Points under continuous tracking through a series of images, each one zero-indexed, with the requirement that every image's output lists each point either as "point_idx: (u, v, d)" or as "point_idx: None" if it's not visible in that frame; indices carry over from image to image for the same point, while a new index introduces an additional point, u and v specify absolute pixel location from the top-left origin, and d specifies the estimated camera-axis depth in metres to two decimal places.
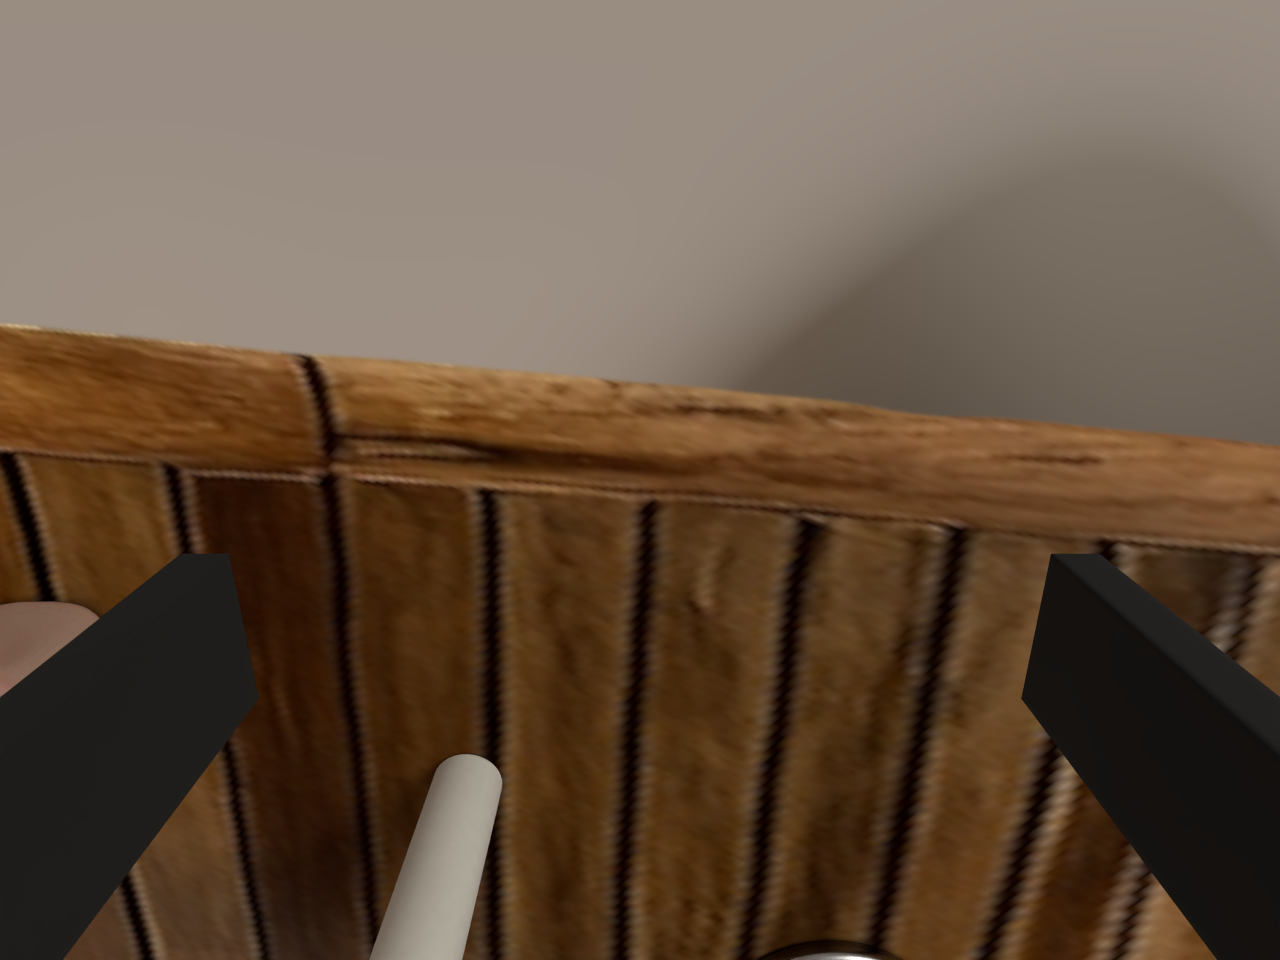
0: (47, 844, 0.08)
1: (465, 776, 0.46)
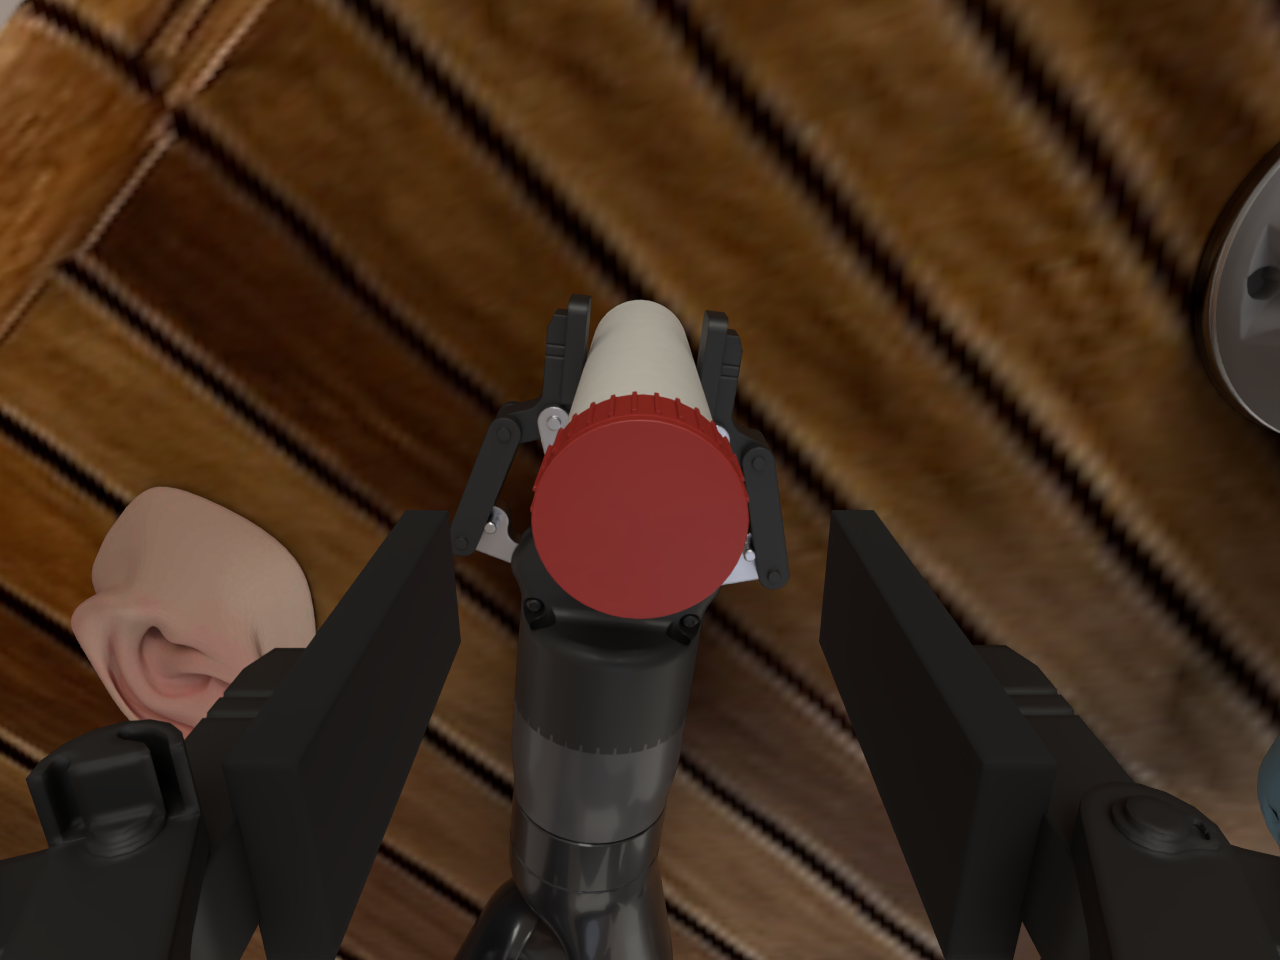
0: (377, 737, 0.10)
1: (609, 316, 0.33)
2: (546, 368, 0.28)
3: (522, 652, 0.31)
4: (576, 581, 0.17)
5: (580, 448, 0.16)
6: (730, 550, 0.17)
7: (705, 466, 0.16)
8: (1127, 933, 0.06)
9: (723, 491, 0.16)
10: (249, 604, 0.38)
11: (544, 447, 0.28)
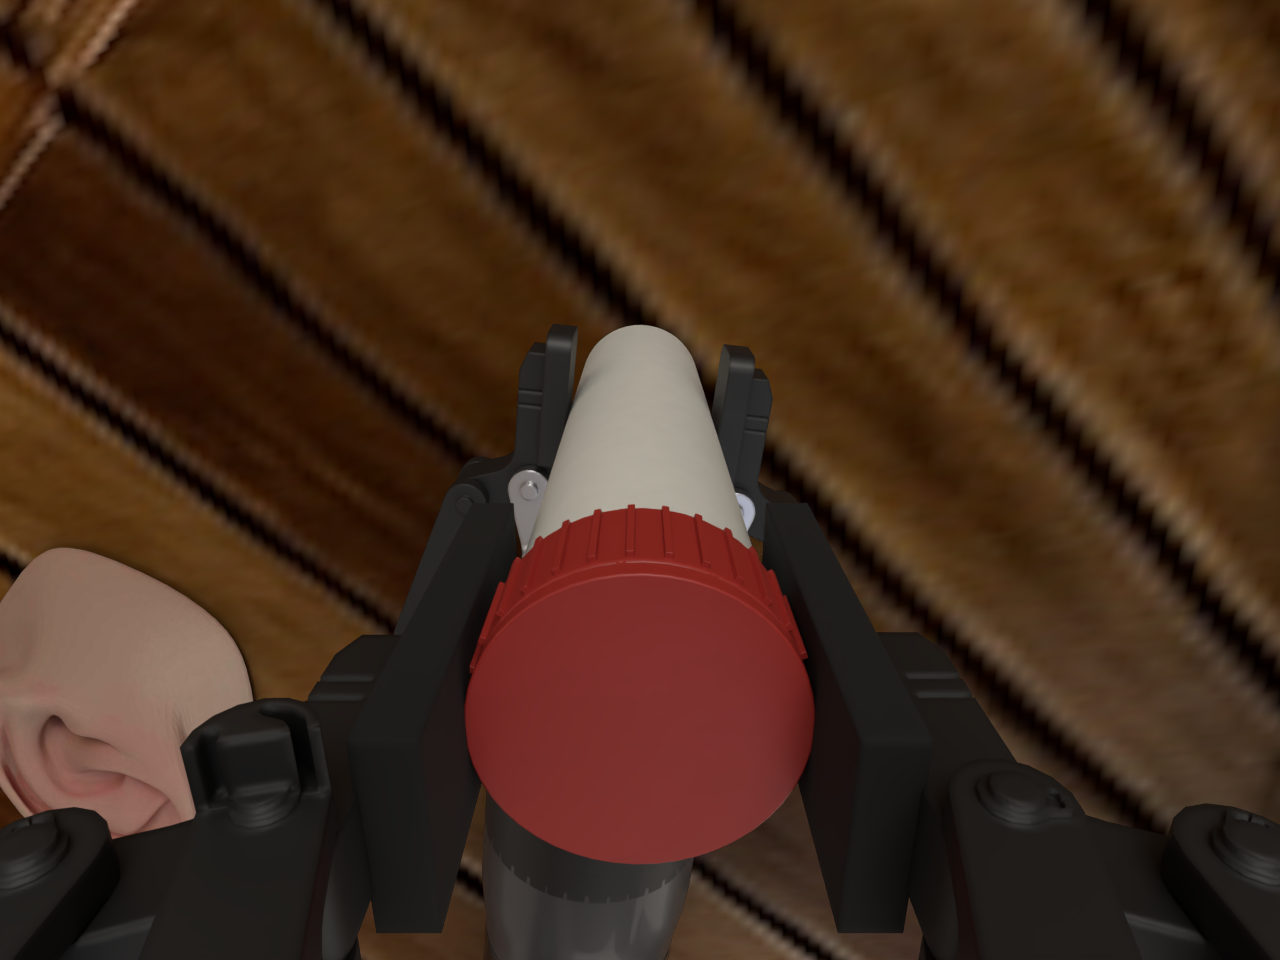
0: None
1: (601, 347, 0.26)
2: (519, 420, 0.22)
3: None
4: (538, 812, 0.11)
5: (541, 618, 0.10)
6: (784, 768, 0.10)
7: (747, 645, 0.10)
8: (989, 907, 0.06)
9: (775, 682, 0.10)
10: (171, 688, 0.31)
11: (517, 520, 0.22)
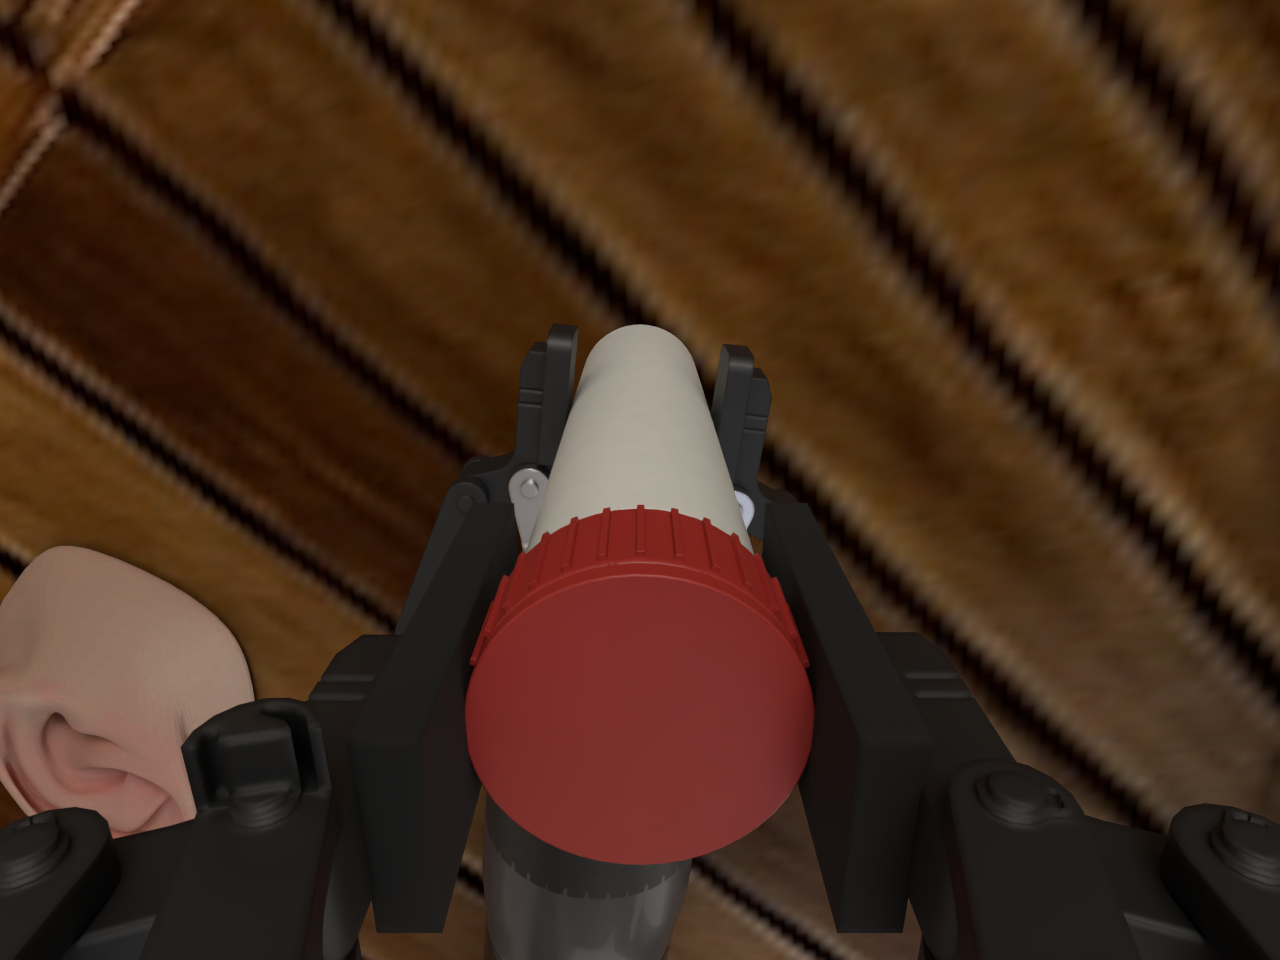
0: None
1: (601, 346, 0.26)
2: (519, 419, 0.22)
3: None
4: (742, 811, 0.11)
5: (520, 809, 0.11)
6: (681, 599, 0.10)
7: (530, 647, 0.10)
8: (988, 906, 0.06)
9: (572, 617, 0.10)
10: (172, 685, 0.32)
11: (517, 518, 0.22)
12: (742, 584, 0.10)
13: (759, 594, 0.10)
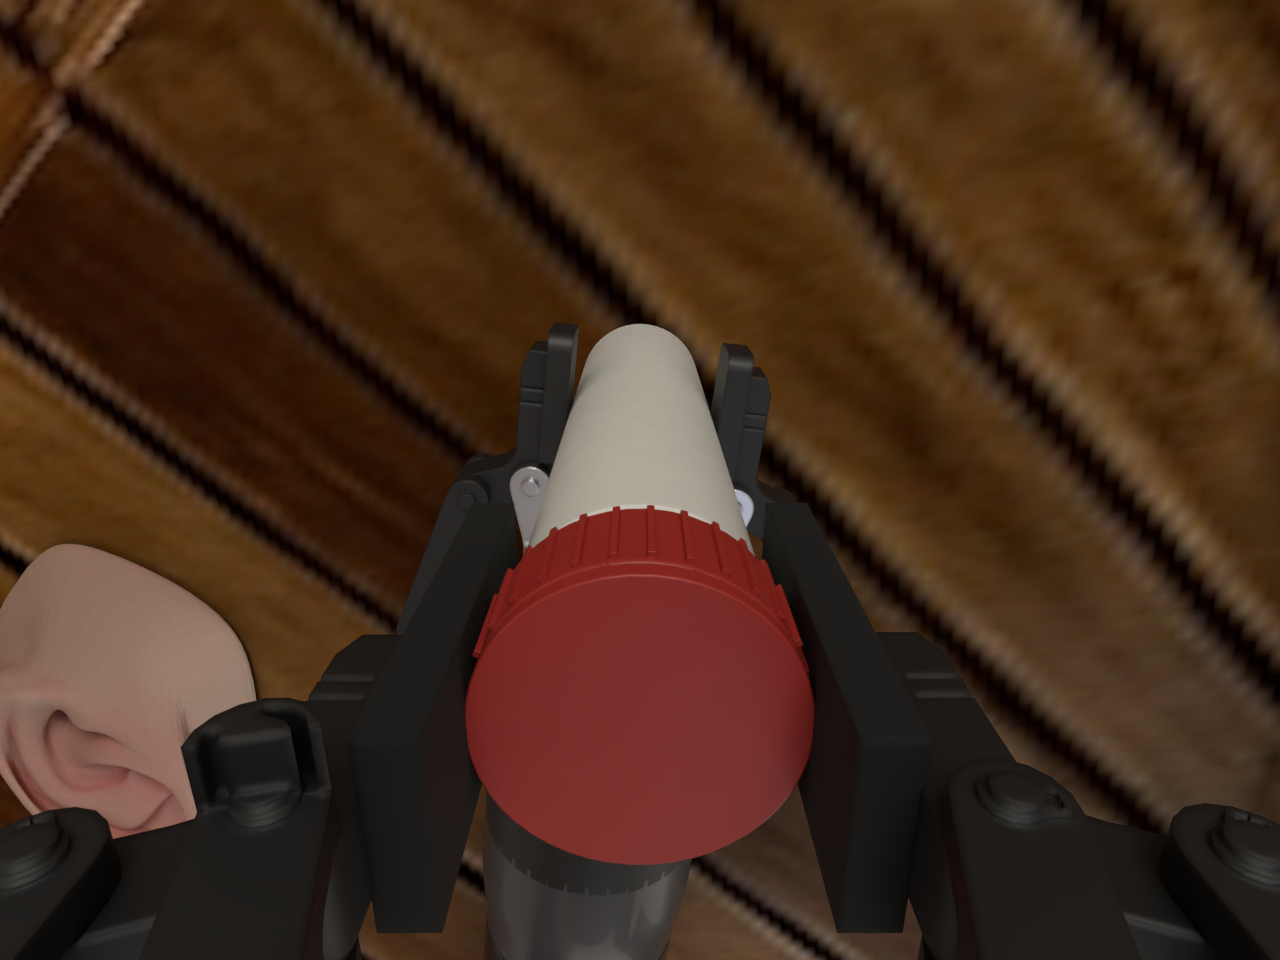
0: None
1: (602, 345, 0.27)
2: (520, 417, 0.22)
3: None
4: (740, 633, 0.10)
5: (738, 825, 0.11)
6: (485, 704, 0.10)
7: (550, 816, 0.11)
8: (988, 906, 0.06)
9: (516, 786, 0.11)
10: (174, 683, 0.32)
11: (518, 516, 0.22)
12: (490, 629, 0.10)
13: (506, 607, 0.10)
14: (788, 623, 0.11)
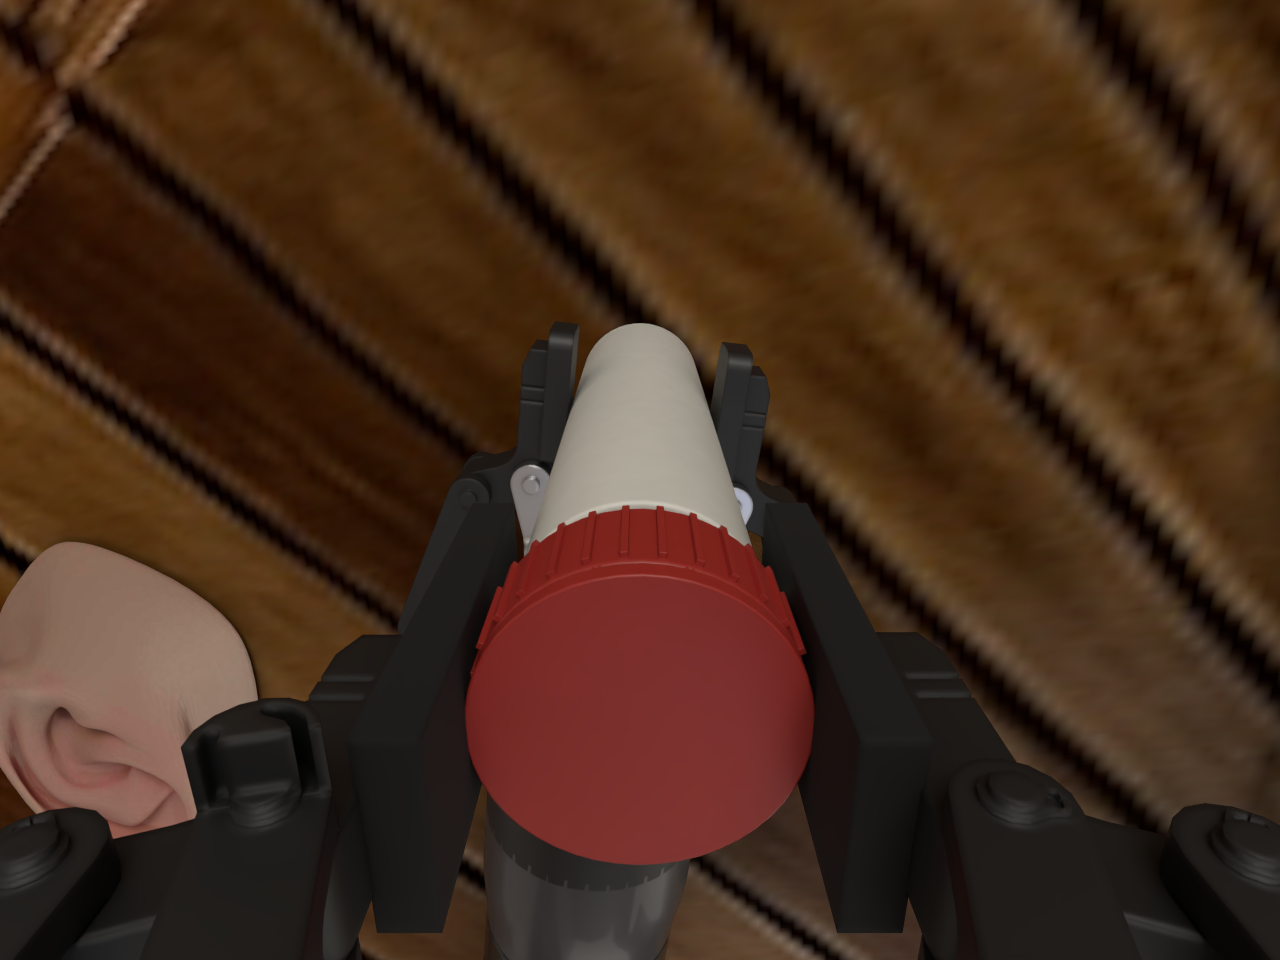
0: None
1: (602, 344, 0.27)
2: (521, 416, 0.22)
3: None
4: (517, 653, 0.10)
5: (760, 636, 0.10)
6: (615, 849, 0.11)
7: (748, 801, 0.11)
8: (988, 906, 0.06)
9: (710, 827, 0.11)
10: (176, 680, 0.32)
11: (519, 514, 0.23)
12: None
13: None
14: None
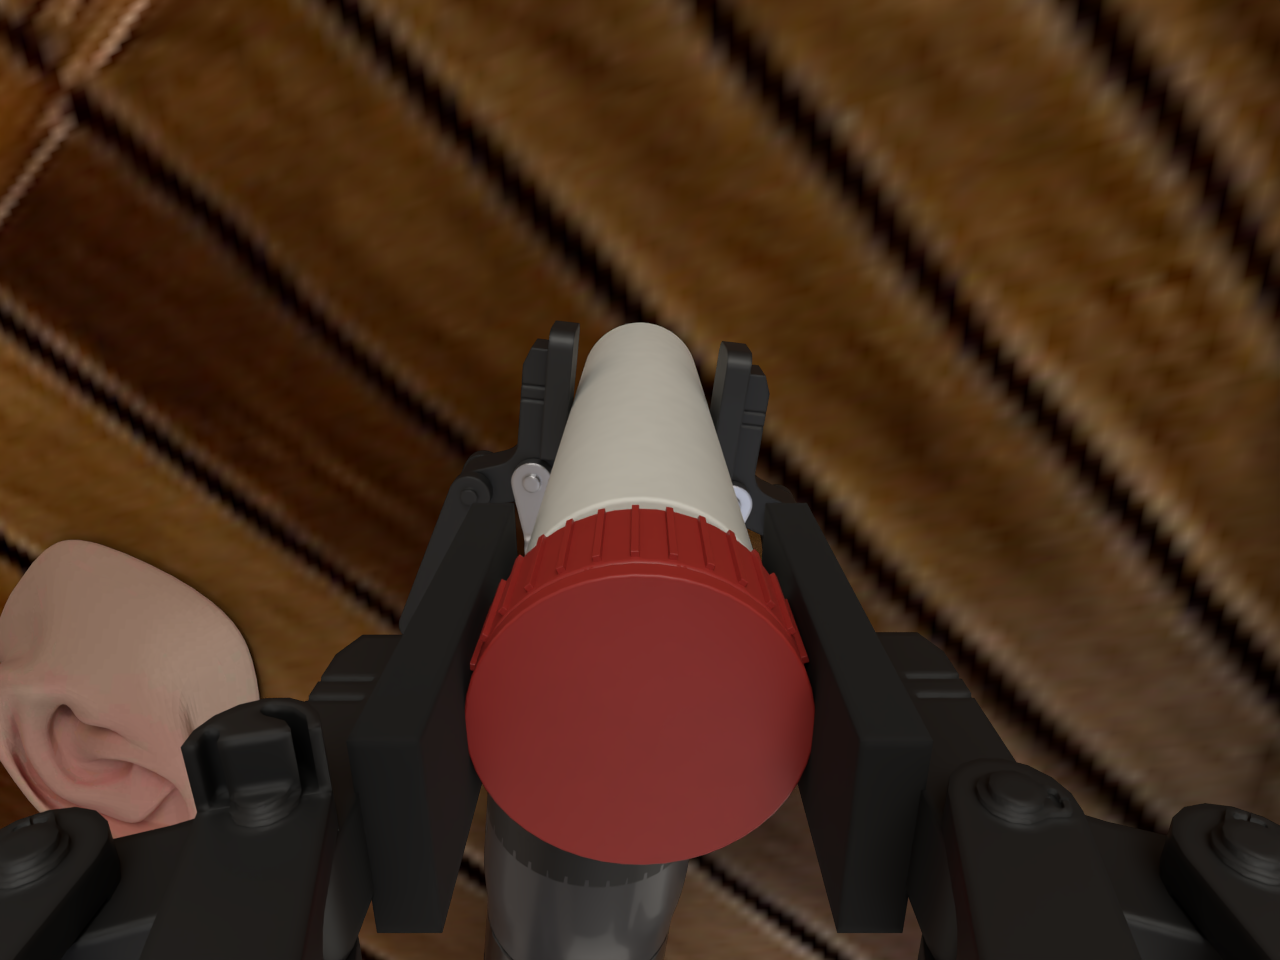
0: None
1: (602, 344, 0.27)
2: (522, 414, 0.22)
3: None
4: (559, 826, 0.11)
5: (518, 636, 0.10)
6: (792, 746, 0.10)
7: (727, 630, 0.10)
8: (988, 906, 0.06)
9: (764, 662, 0.10)
10: (178, 678, 0.32)
11: (520, 512, 0.23)
12: None
13: None
14: None
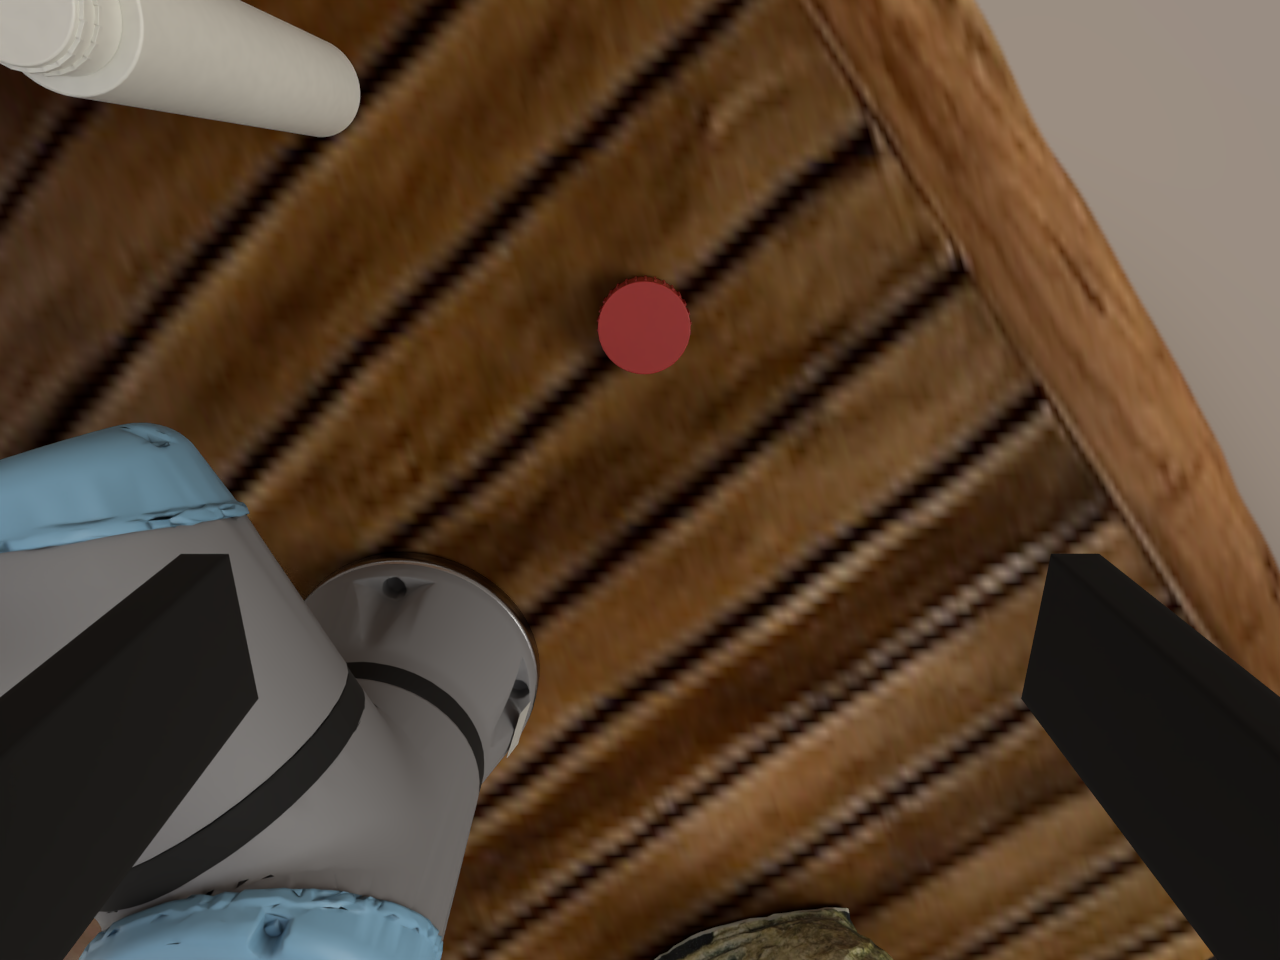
0: (47, 844, 0.08)
1: (334, 53, 0.35)
2: None
3: None
4: (676, 349, 0.39)
5: (617, 360, 0.39)
6: (647, 287, 0.38)
7: (612, 308, 0.39)
8: None
9: (621, 297, 0.38)
10: None
11: None
12: (663, 284, 0.39)
13: (668, 287, 0.39)
14: None
